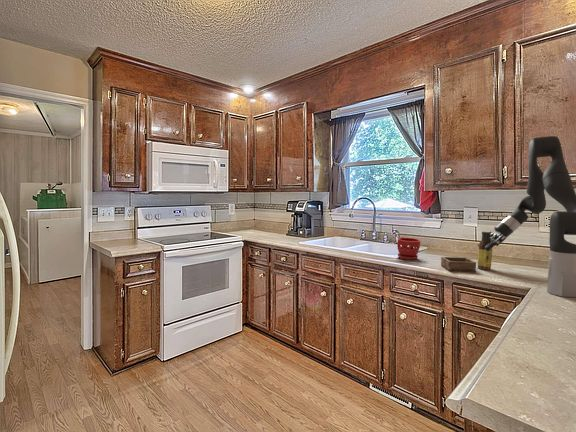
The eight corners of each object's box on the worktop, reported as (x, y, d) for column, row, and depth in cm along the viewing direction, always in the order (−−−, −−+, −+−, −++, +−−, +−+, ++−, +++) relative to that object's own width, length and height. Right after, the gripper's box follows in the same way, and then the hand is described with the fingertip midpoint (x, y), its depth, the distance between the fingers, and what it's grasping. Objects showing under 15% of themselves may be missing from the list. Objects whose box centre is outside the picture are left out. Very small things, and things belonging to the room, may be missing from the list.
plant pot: (396, 259, 194) (397, 240, 194) (397, 255, 207) (397, 236, 206) (420, 261, 190) (421, 241, 189) (419, 256, 203) (419, 237, 202)
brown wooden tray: (475, 272, 165) (476, 262, 165) (448, 271, 167) (449, 261, 167) (466, 266, 177) (466, 257, 177) (441, 265, 179) (441, 256, 179)
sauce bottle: (487, 270, 168) (489, 232, 166) (475, 268, 173) (476, 231, 171) (493, 269, 172) (495, 231, 170) (480, 266, 177) (482, 230, 175)
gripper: (495, 220, 176) (471, 240, 179) (509, 223, 162) (483, 245, 165) (505, 230, 176) (481, 250, 178) (520, 233, 162) (494, 255, 164)
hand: (482, 248), depth 171 cm, fingers open, 8 cm apart
